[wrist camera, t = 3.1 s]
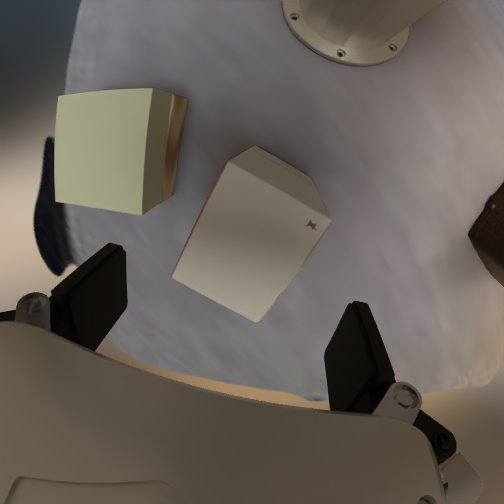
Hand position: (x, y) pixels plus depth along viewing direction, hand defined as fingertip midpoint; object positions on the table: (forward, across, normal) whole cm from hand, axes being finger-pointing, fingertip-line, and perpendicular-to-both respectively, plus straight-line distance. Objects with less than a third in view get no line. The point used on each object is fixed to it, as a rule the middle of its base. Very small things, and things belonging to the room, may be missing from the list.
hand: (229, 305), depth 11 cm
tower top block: (+14, +14, -3) cm, 20 cm away
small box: (+18, 0, 0) cm, 18 cm away
